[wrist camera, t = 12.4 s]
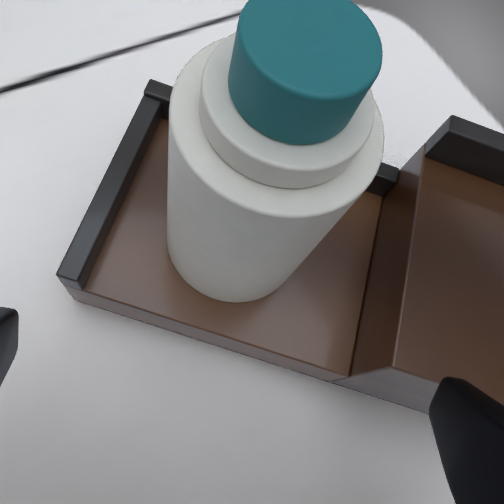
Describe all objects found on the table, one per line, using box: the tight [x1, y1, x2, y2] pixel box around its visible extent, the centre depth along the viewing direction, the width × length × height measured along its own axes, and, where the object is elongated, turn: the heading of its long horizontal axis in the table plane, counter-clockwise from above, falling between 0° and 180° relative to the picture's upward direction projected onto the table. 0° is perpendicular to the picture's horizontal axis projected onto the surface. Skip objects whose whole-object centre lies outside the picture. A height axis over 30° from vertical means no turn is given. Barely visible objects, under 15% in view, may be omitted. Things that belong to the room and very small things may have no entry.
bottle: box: [167, 0, 384, 303], centre depth 12 cm, size 5×5×9 cm
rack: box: [56, 79, 504, 414], centre depth 15 cm, size 8×19×6 cm, turn 74°
